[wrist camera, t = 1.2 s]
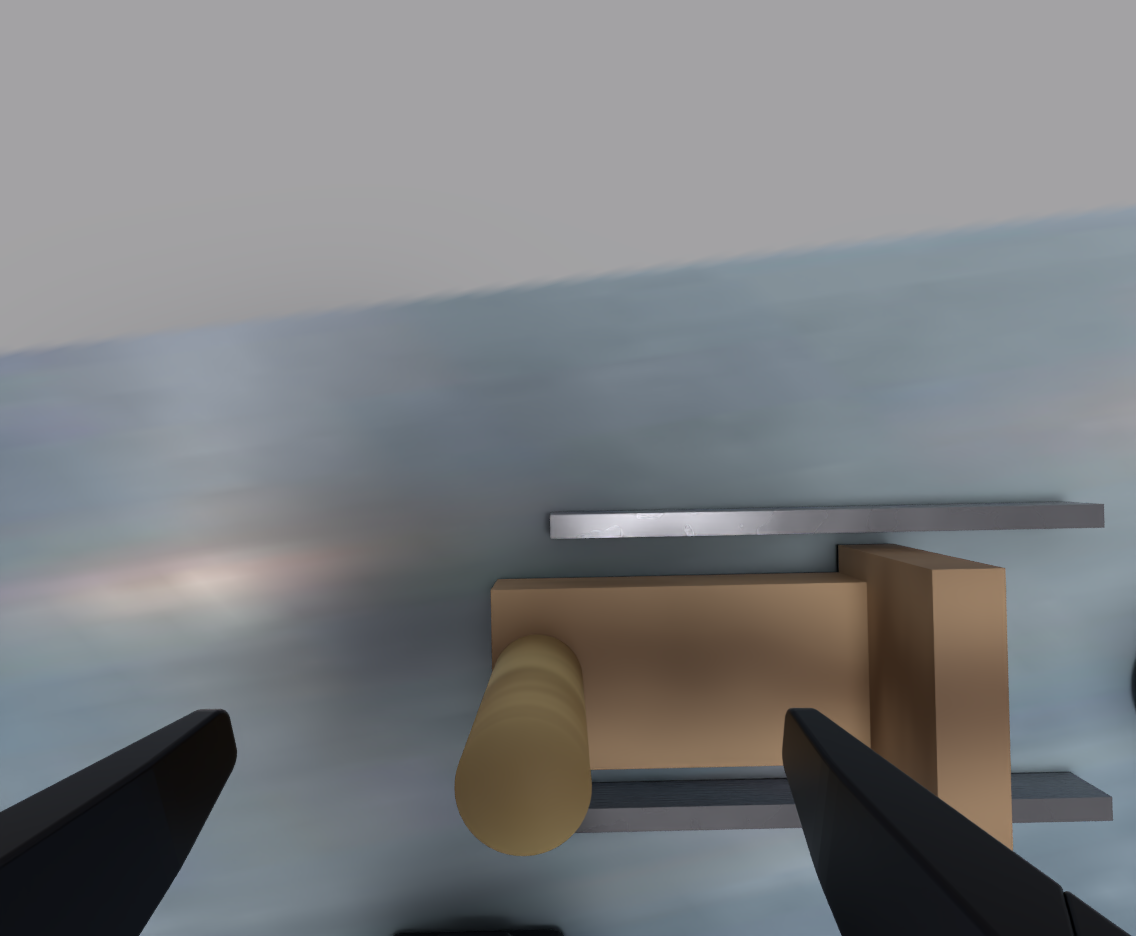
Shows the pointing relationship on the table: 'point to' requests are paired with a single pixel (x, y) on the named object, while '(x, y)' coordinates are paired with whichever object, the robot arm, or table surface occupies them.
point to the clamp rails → (772, 797)
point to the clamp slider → (738, 683)
